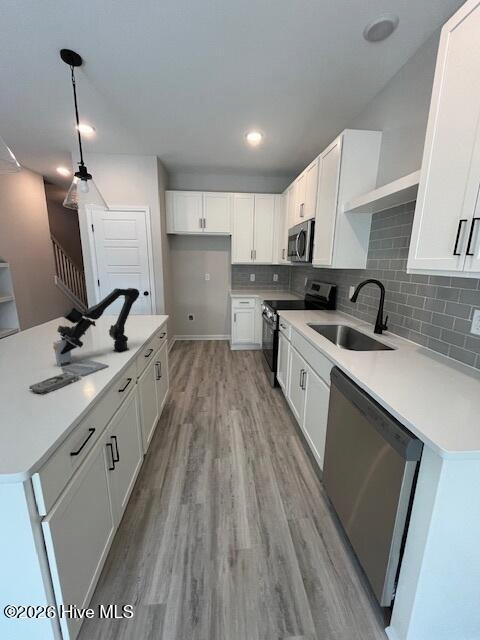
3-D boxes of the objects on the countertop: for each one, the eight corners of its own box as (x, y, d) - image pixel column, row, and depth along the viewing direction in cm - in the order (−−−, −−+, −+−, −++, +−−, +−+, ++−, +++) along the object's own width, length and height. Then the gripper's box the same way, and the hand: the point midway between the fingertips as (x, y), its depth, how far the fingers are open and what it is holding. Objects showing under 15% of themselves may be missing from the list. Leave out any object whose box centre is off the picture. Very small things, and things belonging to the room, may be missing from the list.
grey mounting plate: (86, 360, 141) (86, 356, 140) (108, 367, 132) (107, 362, 132) (61, 369, 130) (60, 364, 129) (83, 376, 121) (82, 371, 121)
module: (69, 361, 140) (66, 339, 137) (72, 363, 136) (68, 341, 134) (55, 364, 135) (51, 341, 132) (57, 367, 132) (54, 344, 129)
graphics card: (64, 368, 123) (81, 372, 118) (65, 376, 124) (82, 380, 119) (23, 383, 108) (40, 389, 103) (25, 392, 109) (42, 397, 104)
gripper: (61, 317, 140) (39, 341, 134) (72, 322, 128) (49, 349, 122) (80, 328, 147) (60, 351, 142) (92, 334, 135) (70, 360, 129)
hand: (59, 352), depth 133 cm, fingers closed on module, 5 cm apart
